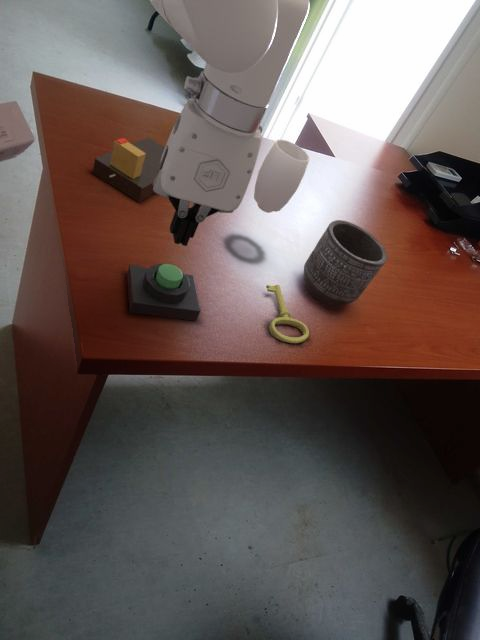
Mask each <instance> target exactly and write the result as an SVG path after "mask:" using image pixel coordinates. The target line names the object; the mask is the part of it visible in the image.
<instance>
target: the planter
mask: <svg viewBox="0 0 480 640" xmlns="http://www.w3.org/2000/svg"><path fill="white" fill-rule="evenodd" d="M387 260H388V254H387V251H386V249H385V247H384V245H383V244H382V243H381V242H380V241H379V240H378V239H377V237H375V236H374V235H373V233H370V232H369V231H367V230H366V229H364V228H363V227H362V226H359V225H357V224H355V223H353V222H350V221H347V220H342V219H337V220H336V219H335V220H333V221H331V222H330V223H329V224H328V226H327V227H326V229H325V231H324V232H323V234H322V235H321V237H320V238H319V239H318V242H317V243H316V245H315V247H314V249H313V250H312V251H311V253H310V254H309V256H308V258H307V259H306V261H305V263H304V266H303V281H304V289H305V291H306V293H307V294H308V296H309V297H310V298H311V299H312V300H313V301H315V302H316V303H317V304H319V305H321V306H323V307H326V308H328V309H329V308H330V309H335V308H340V307H343V306H346V305H349V304H351V303H354V302H355V301H357V300H358V299H359V298H360V297H361V295H362V294H363V293H364V292H365V290H366V289H367V287H368V286H369V285H370V283H371V282H372V281H373V280H374V278H375V277H376V275H377V274H378V273H379V271H381V269H382V268H383V266H384V265H385V264H386V262H387Z"/></svg>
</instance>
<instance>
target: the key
mask: <svg viewBox="0 0 480 640" xmlns="http://www.w3.org/2000/svg"><path fill="white" fill-rule="evenodd" d="M265 288H266V292H268V293H274V295H275V298H276V303H277V306H278V309H279V314H278V317H276V318H274V319H272V321H270V323H269V325H268V332H269V334H270V335H271V336H272V337H273V338H275V339H277V340H278V341H281V342H283V343H288V344H300V343H303V342H305V341H307V340H308V337H309V335H310V331H309V328H308V326H307V325H306V324H305V323H304V322H303V321H300V320H299V319H296V318H293V317H291V312H290V311H289V310H288V309H287V306H286V302H285V300H284V296H283V293H282V289H281V285H280V284H275V285H269V284H267V285H266V286H265ZM276 325H287V326H292V327H294V328H297V329H298V330H300V331H301V333H302V335H301V336H297V337H294V336H288V335H285V334H283V333H281V332H280V331H279V330H277V327H276Z"/></svg>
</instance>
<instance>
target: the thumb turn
mask: <svg viewBox="0 0 480 640" xmlns="http://www.w3.org/2000/svg"><path fill="white" fill-rule="evenodd" d="M132 144H133V143H130V142H129V140H128V139H126V138H124V137H122V138H119V139H115V140H114V141H113V146H112V151H111V152H112V156H111V161H110V165H112V166H113V167H115V168H116V169H118V170H120V171H121V172H123V173H124V174H126V175H127V176H129V177H130V178H132V179H134V178H136V177H138V176H140V175H141V171H142V167H143V163H144V159H145V155H146V153H144V152H143V151H141V150H140V149H138V148H137V147H135V146H134V145H132Z"/></svg>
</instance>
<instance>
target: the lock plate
mask: <svg viewBox="0 0 480 640" xmlns="http://www.w3.org/2000/svg"><path fill="white" fill-rule="evenodd" d="M131 144H132V145H134V146H135V147H137V148H138V149H140V150H141V151H143V152H144V153H146V155H145V159H144V163H143V167H142V171H141V175H140V176H138V177H136V178H134V179H132V178H130V177H129V176H127V175H126V174H124V173H123V172H121V171H120V170H118V169H116V168H115V167H113V166H112V165H110V161H111V156H112V151H110V152H108V153H105V154H103V155H101V156H98V157H95V158H94V164H93V169H92V175H95V176H96V177H97V178H99V179H101V180H103V181H104V182H106V183H107V184H110V185H111V186H113V187H114V188H115V189H117V190H119V191H120V192H122V193H123V194H125V195H126V196H127V197H130V198H131V199H133V200H134V201H136V202H137V203H140V202H141V201H143V200H145V199H147V198H149V197H150V196H152V195H154V194H156V193H155V192H154V191H153V185H152V183H153V181H154V180H155V178H156V177H157V175H158V173H159V165H160V161H161V157H162V154H163V151H164V149H165V146H164V145H163V144H160V143H159V142H158V141H156V140H155V139H153V138H151V137H149V136H147V137H145V138H143V139H140V140H138V141H136V142H133V143H131Z"/></svg>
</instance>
